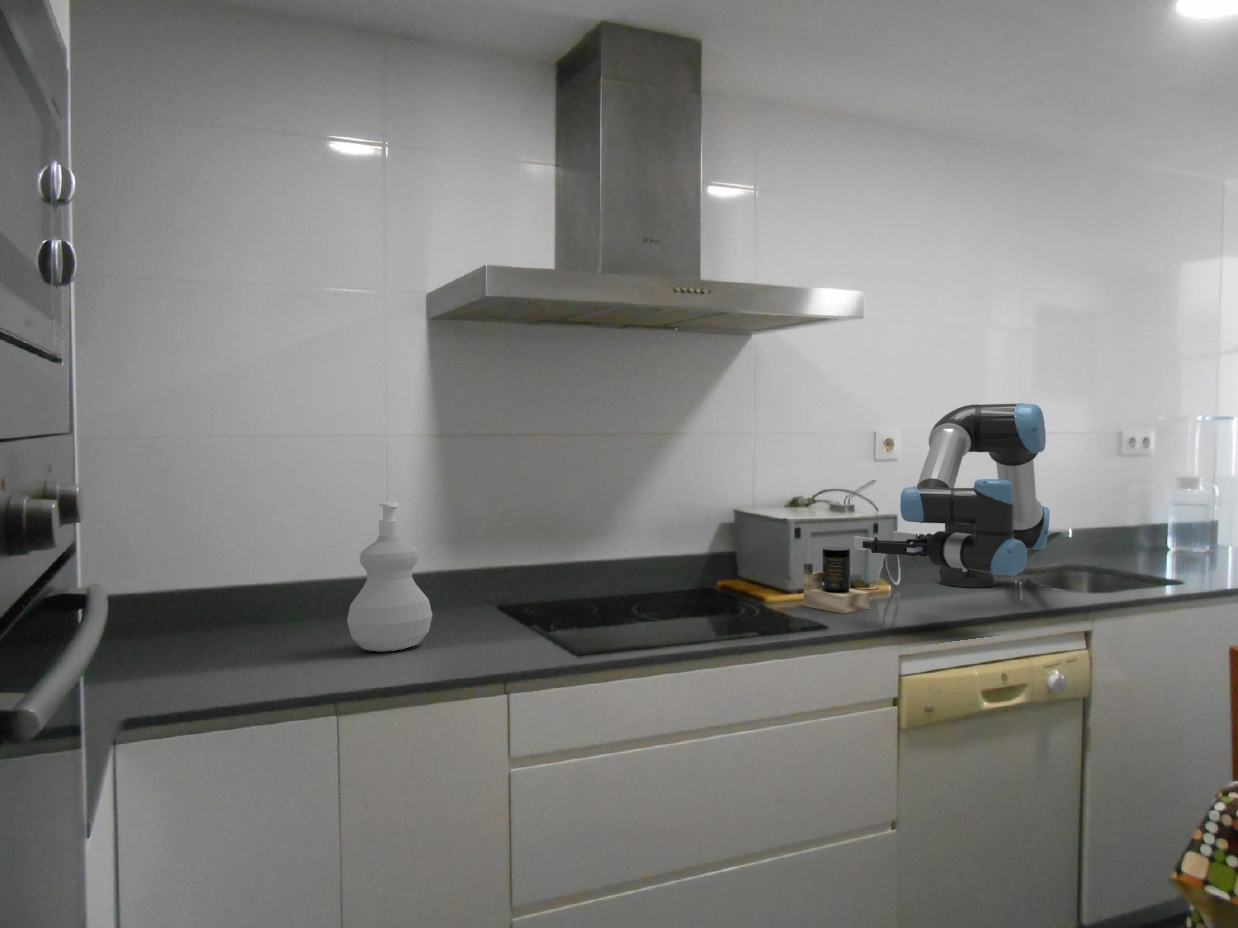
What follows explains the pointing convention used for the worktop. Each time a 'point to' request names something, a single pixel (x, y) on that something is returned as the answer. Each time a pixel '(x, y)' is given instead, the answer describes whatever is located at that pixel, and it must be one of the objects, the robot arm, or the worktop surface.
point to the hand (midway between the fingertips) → (874, 539)
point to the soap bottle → (389, 592)
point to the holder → (831, 595)
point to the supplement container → (836, 569)
